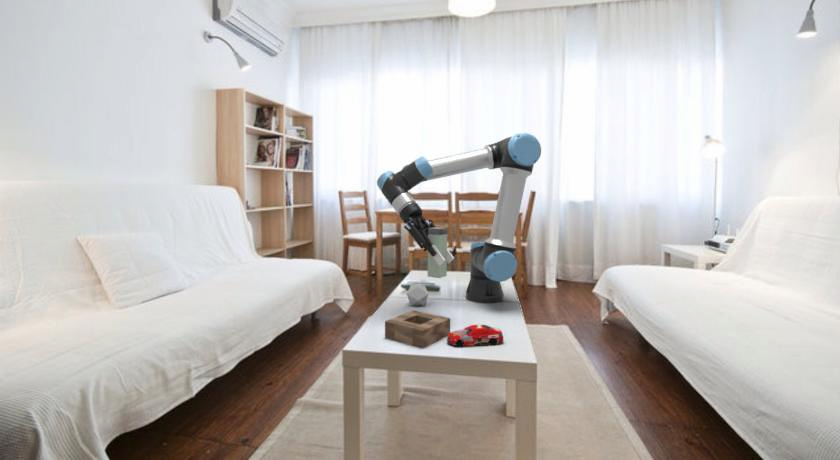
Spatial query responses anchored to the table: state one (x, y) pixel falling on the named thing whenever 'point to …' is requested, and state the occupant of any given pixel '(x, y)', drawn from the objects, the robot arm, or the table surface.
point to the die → (417, 294)
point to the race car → (475, 336)
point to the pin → (440, 241)
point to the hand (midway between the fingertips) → (446, 261)
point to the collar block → (417, 328)
